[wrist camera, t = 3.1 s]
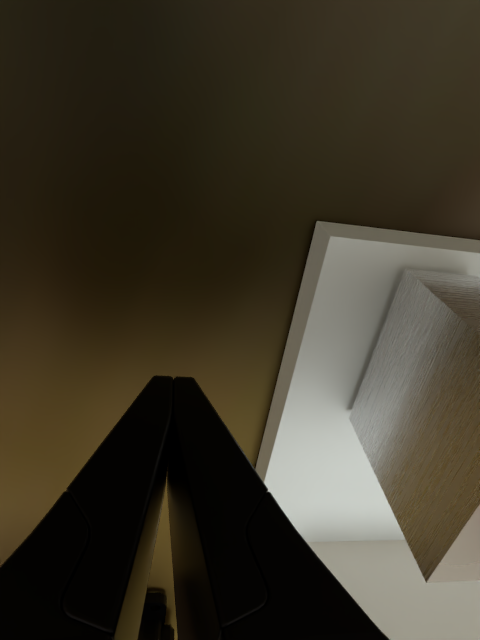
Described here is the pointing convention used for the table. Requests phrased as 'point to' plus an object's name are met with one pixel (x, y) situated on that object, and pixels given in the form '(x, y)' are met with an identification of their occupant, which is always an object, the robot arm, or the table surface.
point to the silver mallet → (428, 420)
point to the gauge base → (339, 436)
